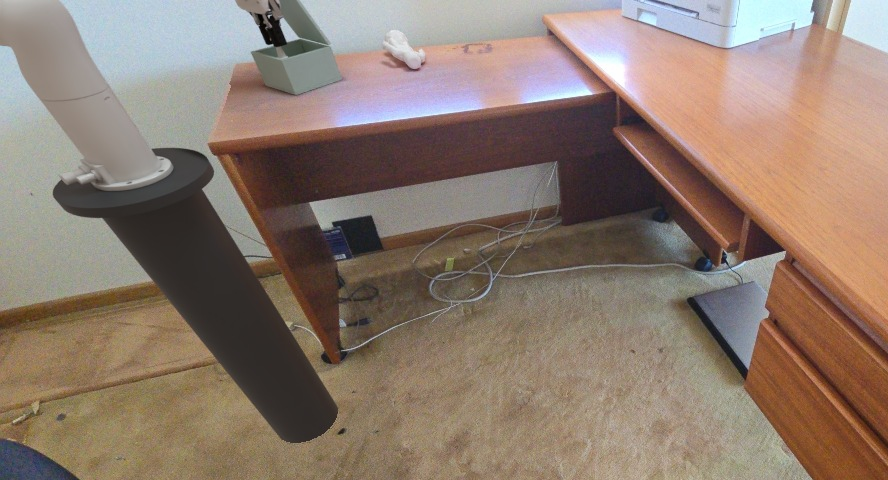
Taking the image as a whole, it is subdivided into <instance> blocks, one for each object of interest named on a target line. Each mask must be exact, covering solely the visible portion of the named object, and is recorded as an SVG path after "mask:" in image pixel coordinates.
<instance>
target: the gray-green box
mask: <svg viewBox="0 0 888 480" xmlns="http://www.w3.org/2000/svg"><path fill="white" fill-rule="evenodd" d="M281 48H282V49H283V51H284V53H285V55H286V56H288V57H287V58H285V59H280V58H277V57H278V54H277V50H276V47H274V46H273V45H270V46H267V47H264V48H259V49H256V50H251V51H250V55H251V57H252V58H253V61H254V64H255V65H256V67H257V70H258V71H259V74H260V77H261V78H262V81H263V83H264V85H265V87H269V88H272V89H275V90H278V91H282V92H285V93H287V94H292V95H294V96H297V95H300V94H301V95H302V94H304V93H306V92H310V91H314V90H316V89H318V88H321V87H325V86H327V85H329V84H330V85H331V84H334V83H336V82H339V81H342V80H343V77H342V74H341V71H340V69H339V66H338V63H337V60H336V57H335V54H334V51H333V48H332V46H330V45H326V44H322V43H318V42H314V41H310V40H306V39H302V38H298V39H294V40H290V41H287V45H284V46H281Z"/></svg>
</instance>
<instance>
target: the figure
mask: <svg viewBox="0 0 888 480" xmlns="http://www.w3.org/2000/svg"><path fill="white" fill-rule="evenodd" d="M381 48H382V50H384V51H386V52H388V53H390V54H391V55H392V56H393V57H394V58H396V59H398V60H400V61H401V62H404V63H405V64H406V65H407V66H408V68H410V69H412V70H417V69H420V67H421V64H422V63H425V62H426V52H425V50H424V49H422V48H418V51H416V50H414V49H413V47H411V46H410V43H409V40H408V38H407V36H406V34H405V33H403V32H401V31H400V30H398V29H391V30H389V31H387V32H386V34H385V36H384V40H383V41H382V43H381Z"/></svg>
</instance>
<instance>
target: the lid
mask: <svg viewBox="0 0 888 480" xmlns="http://www.w3.org/2000/svg"><path fill="white" fill-rule="evenodd" d="M279 1H280V5H281V10H280V11H281V13H282V14H283V18H282V19H283V20H284V21H285V22H286V24H288V26H289V27H290V28H291V30H292V31H293V32H294V33H295V35H296V36H297V38H298V39H303V40H307V41H311V42H315V43H319V44H322V45H326V46H330V45H332V43H331V41H330V39H329V38H328V37H327V36H326V35H325V33H324V32H323V30H322V29H321V28H320V26H319V25H318V23H317V22H316V21H315V19H314V17H312V15H311V14H310V13H309V11H308V9H307V8H306V7H305V5H304V4H303V2H302V1H301V0H279Z"/></svg>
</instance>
